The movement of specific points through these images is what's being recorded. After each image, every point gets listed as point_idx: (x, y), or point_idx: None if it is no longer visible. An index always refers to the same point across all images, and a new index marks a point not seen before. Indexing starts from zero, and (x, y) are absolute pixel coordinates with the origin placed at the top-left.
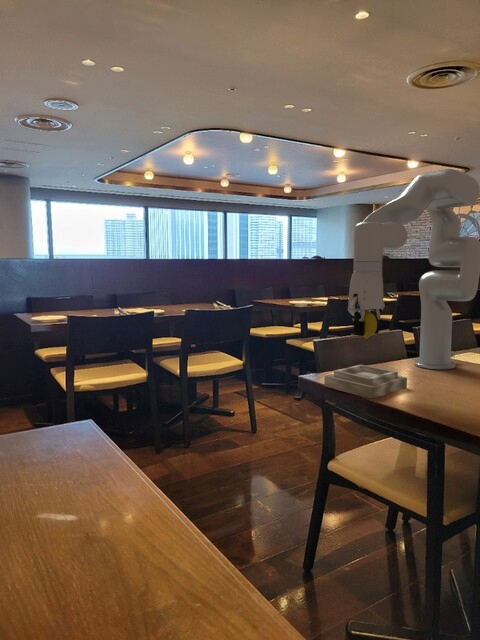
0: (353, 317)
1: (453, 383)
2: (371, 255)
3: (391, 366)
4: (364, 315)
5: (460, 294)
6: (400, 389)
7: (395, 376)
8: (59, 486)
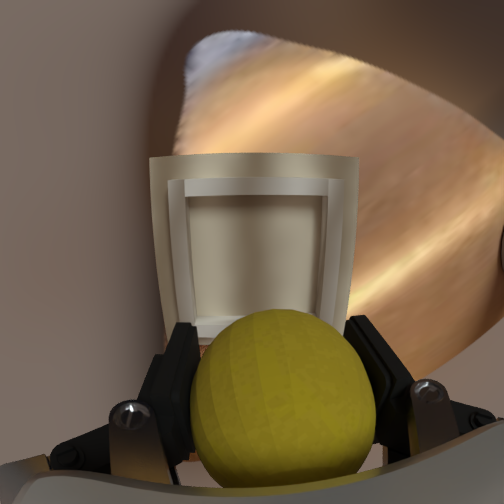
0: (92, 439)
1: (425, 350)
2: None
3: (486, 165)
4: (221, 485)
5: None
6: None
7: None
8: None
